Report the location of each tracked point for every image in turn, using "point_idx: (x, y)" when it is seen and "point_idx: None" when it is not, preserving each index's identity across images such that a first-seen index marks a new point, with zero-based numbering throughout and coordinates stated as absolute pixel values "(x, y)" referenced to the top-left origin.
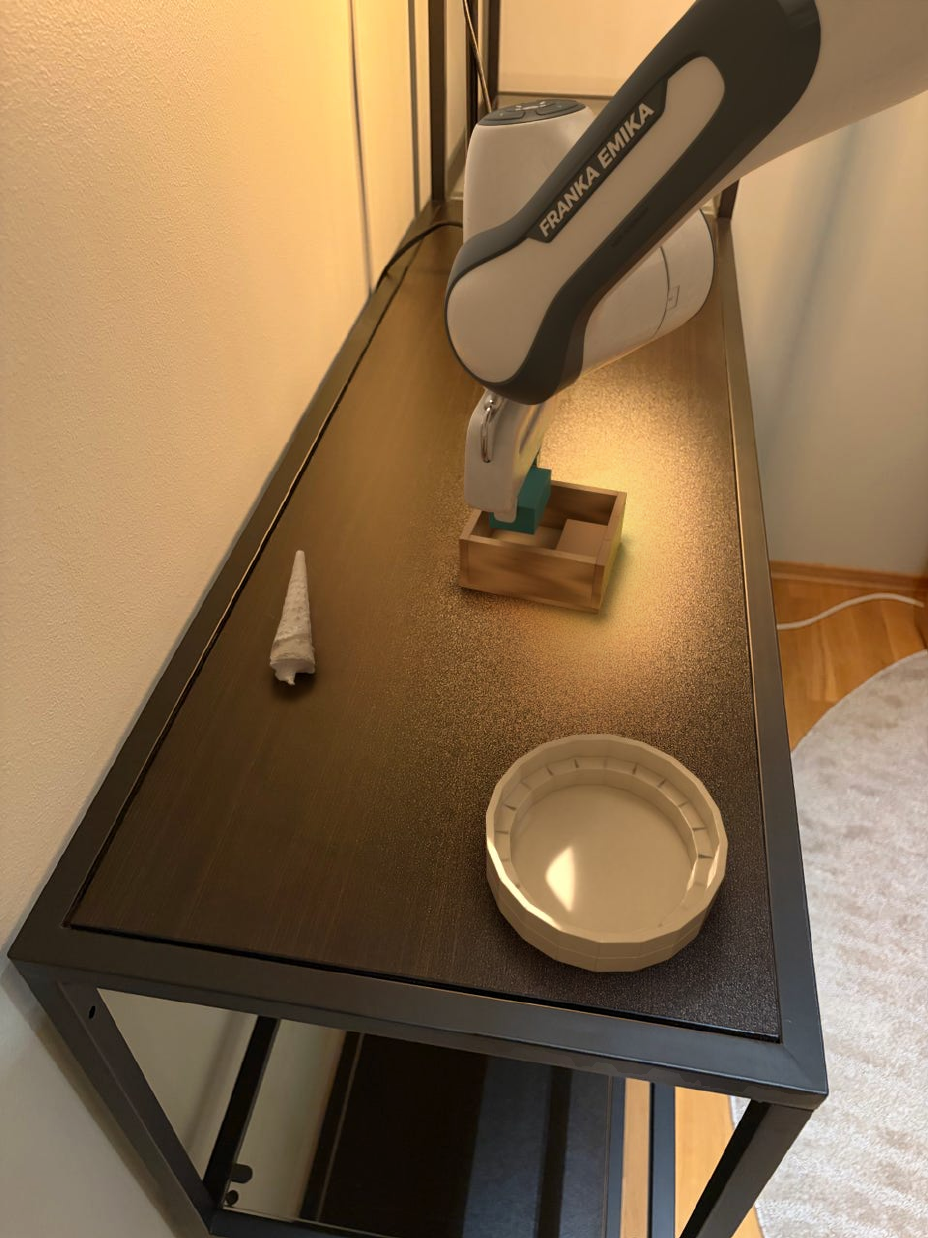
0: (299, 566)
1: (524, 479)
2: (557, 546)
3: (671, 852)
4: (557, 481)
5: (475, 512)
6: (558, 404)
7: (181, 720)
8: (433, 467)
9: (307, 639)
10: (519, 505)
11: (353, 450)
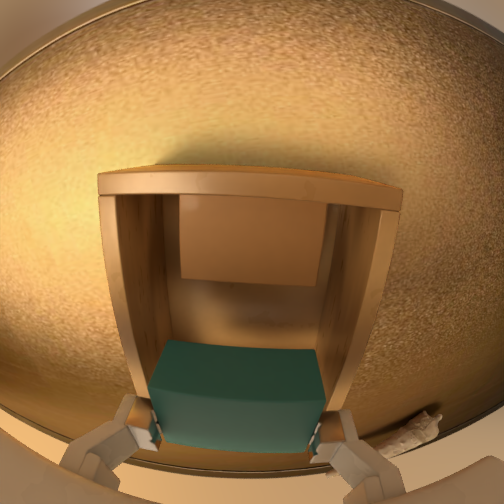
0: None
1: (413, 501)
2: (275, 283)
3: None
4: (120, 329)
5: None
6: (21, 455)
7: None
8: (117, 404)
9: (420, 433)
10: (315, 422)
11: None
